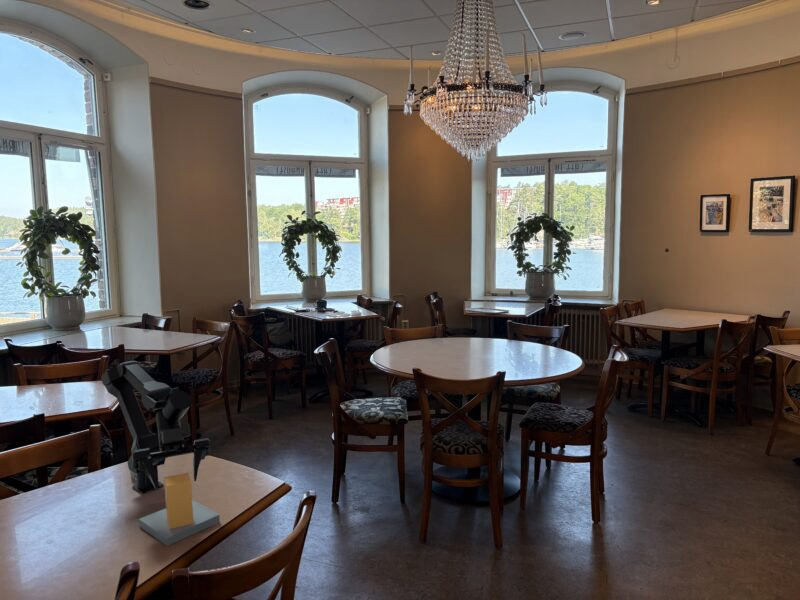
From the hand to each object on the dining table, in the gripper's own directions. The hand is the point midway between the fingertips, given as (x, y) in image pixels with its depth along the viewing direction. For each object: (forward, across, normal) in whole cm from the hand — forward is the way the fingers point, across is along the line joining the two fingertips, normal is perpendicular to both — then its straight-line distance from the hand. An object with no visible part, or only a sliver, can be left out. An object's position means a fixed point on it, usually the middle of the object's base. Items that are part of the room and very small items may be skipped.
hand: (176, 484), depth 138 cm
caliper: (-22, -3, +38) cm, 44 cm away
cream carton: (+8, 0, +4) cm, 9 cm away
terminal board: (+8, 0, +7) cm, 11 cm away
